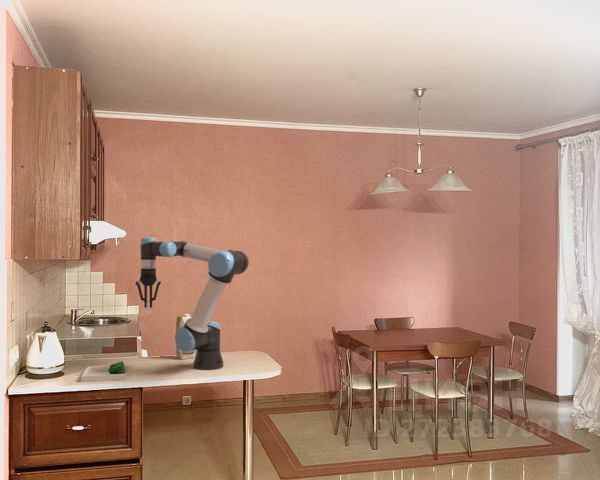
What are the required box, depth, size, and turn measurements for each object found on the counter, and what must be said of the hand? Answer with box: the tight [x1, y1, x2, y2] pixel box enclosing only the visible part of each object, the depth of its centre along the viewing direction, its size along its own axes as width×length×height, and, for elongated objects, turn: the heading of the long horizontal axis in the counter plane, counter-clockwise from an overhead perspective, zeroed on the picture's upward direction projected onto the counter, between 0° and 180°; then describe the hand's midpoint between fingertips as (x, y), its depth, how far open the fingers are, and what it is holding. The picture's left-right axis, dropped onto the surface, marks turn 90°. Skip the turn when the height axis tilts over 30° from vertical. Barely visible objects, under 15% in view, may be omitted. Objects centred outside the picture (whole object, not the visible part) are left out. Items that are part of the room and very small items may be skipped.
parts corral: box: [80, 364, 130, 383], centre depth 294 cm, size 20×21×2 cm
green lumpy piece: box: [108, 361, 127, 375], centre depth 293 cm, size 12×6×9 cm, turn 6°
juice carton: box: [175, 313, 196, 360], centre depth 336 cm, size 9×8×24 cm
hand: (148, 314), depth 316 cm, fingers closed
